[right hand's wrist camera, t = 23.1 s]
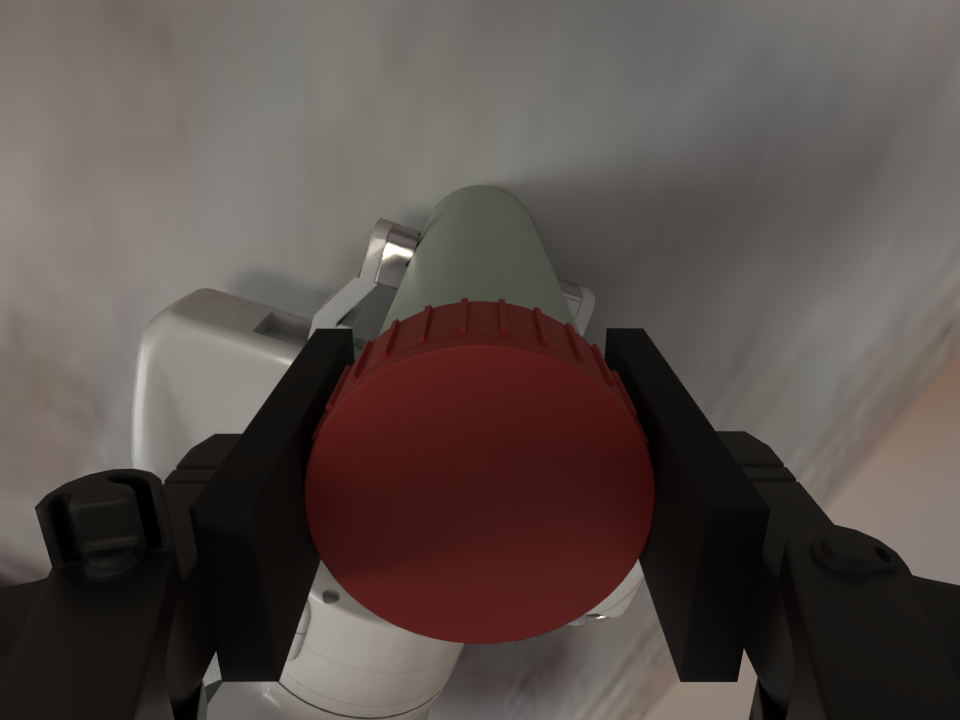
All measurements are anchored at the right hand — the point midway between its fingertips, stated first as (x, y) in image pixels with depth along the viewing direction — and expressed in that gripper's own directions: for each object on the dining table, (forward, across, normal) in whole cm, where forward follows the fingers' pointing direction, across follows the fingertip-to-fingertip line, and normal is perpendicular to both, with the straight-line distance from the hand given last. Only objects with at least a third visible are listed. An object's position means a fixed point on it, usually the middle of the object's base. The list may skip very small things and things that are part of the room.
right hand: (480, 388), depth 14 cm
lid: (-4, 0, 0) cm, 4 cm away
